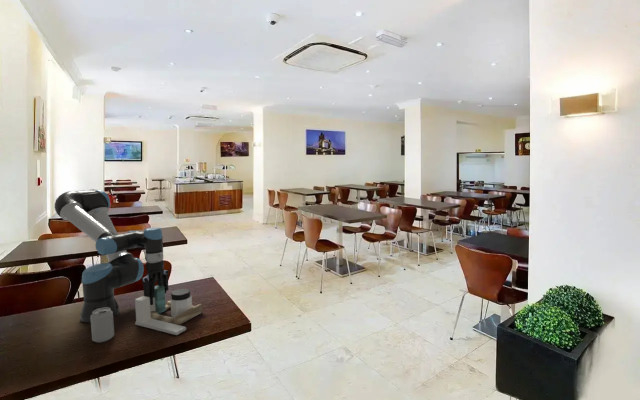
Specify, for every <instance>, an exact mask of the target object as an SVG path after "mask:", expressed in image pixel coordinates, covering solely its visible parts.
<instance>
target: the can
mask: <svg viewBox="0 0 640 400" xmlns="http://www.w3.org/2000/svg"><path fill="white" fill-rule="evenodd" d="M90 319H91V323H90V329H91V341H92V342H95V343H105V342H108V341H110V340H111V339H112V338H114V336H115V327H114V317H113V311H111V309H110V308H108V307H105V308H99V309H96V310H94V311H93V312H92V315H91V316H90Z"/></svg>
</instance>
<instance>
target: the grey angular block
mask: <svg viewBox="0 0 640 400" xmlns="http://www.w3.org/2000/svg"><path fill="white" fill-rule="evenodd" d="M134 306H135V307H134V308H135V320H136V321H135V322H134V323H135V325H136V326H139V327H142V328H143V327H144V328H148V329H152V330H155V331H158V332H163V333H167V334H171V335H174V336H178V335H179V334H182V333H183V332H185V331H186V330H187V326H184V325H181V324H180V325H176V324H172V323H168V322H163V321H159V320H155V319H151V314H150V312H151V311H150V297H145V296H144V295H141V296H140V297H137V298H135V299H134Z"/></svg>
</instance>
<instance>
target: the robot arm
mask: <svg viewBox="0 0 640 400" xmlns="http://www.w3.org/2000/svg"><path fill="white" fill-rule="evenodd" d="M110 207H111V199H110V196H109V195H108V194H107V192H106V191H104V190H101V189H87V190H85V189H84V190H70V191H69V190H68V191H65V192H63V193H61V194H59V196H58V197H57V198H56V199H55V202H54V210H55V213H56V215H58V216H59V217H60V218H61V220H64V221H69V222H70V224H72V225H74V227H76V228H77V229H78V230H79V231H81V232H83V234H85V235H86V236H87V237H88V238H89V239H90V240H93V242H94V243H95V244H94V245H95V250H96V251H97V254H99V255H101V256H102V255H103V256H106V258H107V260H108V261H107V262H101V263H98V264H93V265H92V266H89V267H87V268H85V269H84V270H83V272H82V275H81V283H82V292H83V293H82V295H83V305H82V308H81V312H80V314H79V315H80V317H79V318H80V322H83V323H86V324H89V323H90V324H91V319H90V316H91V315H92V312H93V311H94V310H96V309H99V308H105V307H108V308H110V309H111V311H113V318H114V317H116V316H117V315H119V314H120V307H119V303H118V302H117V300H116V298H115V291H114V290H115V289H119V288H122V287H125V286H126V285H127V286H128V285H130V284H134V283H135V282H138V281H139V280H141V282H142V286H143V287H142V288H143V296H145V297H150V312H152V311H154V312H155V311H156V305H155V297H153V296H154V289H155V286H156V284H157V285H160V286H164V287H165V294H167V291H169V272H170V271H169V270H166V269H164V267H165V263H164V262H165V261H164V245H163V243H164V242H163V238H164V236H163V231H162V228H161V227H148V228H145V229H144V230H129V231H128V232H126V233H121V234H118V232H117V229H116V228H115V226H114V224H113V221H112V219H111V218H110V215H109V211H110ZM135 248H143V249H144V253H145V258H144V259H145V261H146V262H145V268H144V264H143V261H142V260H141V259H140V258H138V257H134V256H133V254H132V253H130V252H128V250H132V249H135ZM144 270H146V276H144V277H143V275H144Z"/></svg>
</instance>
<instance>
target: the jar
mask: <svg viewBox="0 0 640 400" xmlns="http://www.w3.org/2000/svg"><path fill="white" fill-rule="evenodd" d="M170 294H171V295H170V296H171V298H170V300H169V301H171V308H170V314H171V316H170V317H172V318H176V316H177V315H179V314H181V313H183V312H185V311H187V310H189V309H191V308H192V305H193V296H192V295H191V290H190V289H189V288H180V289H179V288H178V289H175V290H173V291H172V292H171V293H170Z"/></svg>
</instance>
